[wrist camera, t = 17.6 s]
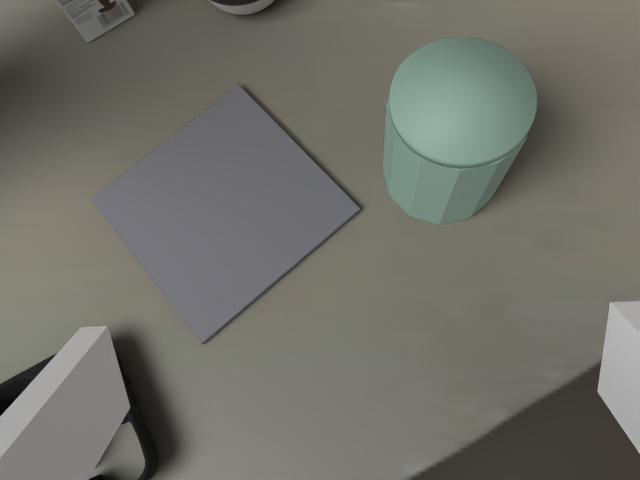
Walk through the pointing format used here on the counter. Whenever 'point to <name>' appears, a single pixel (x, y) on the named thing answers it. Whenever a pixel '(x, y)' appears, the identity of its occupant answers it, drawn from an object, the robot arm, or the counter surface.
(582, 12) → the counter surface
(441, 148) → the faceted lidded jar
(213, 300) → the mat
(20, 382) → the egg carton
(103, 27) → the coffee box
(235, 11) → the black egg-shaped device
